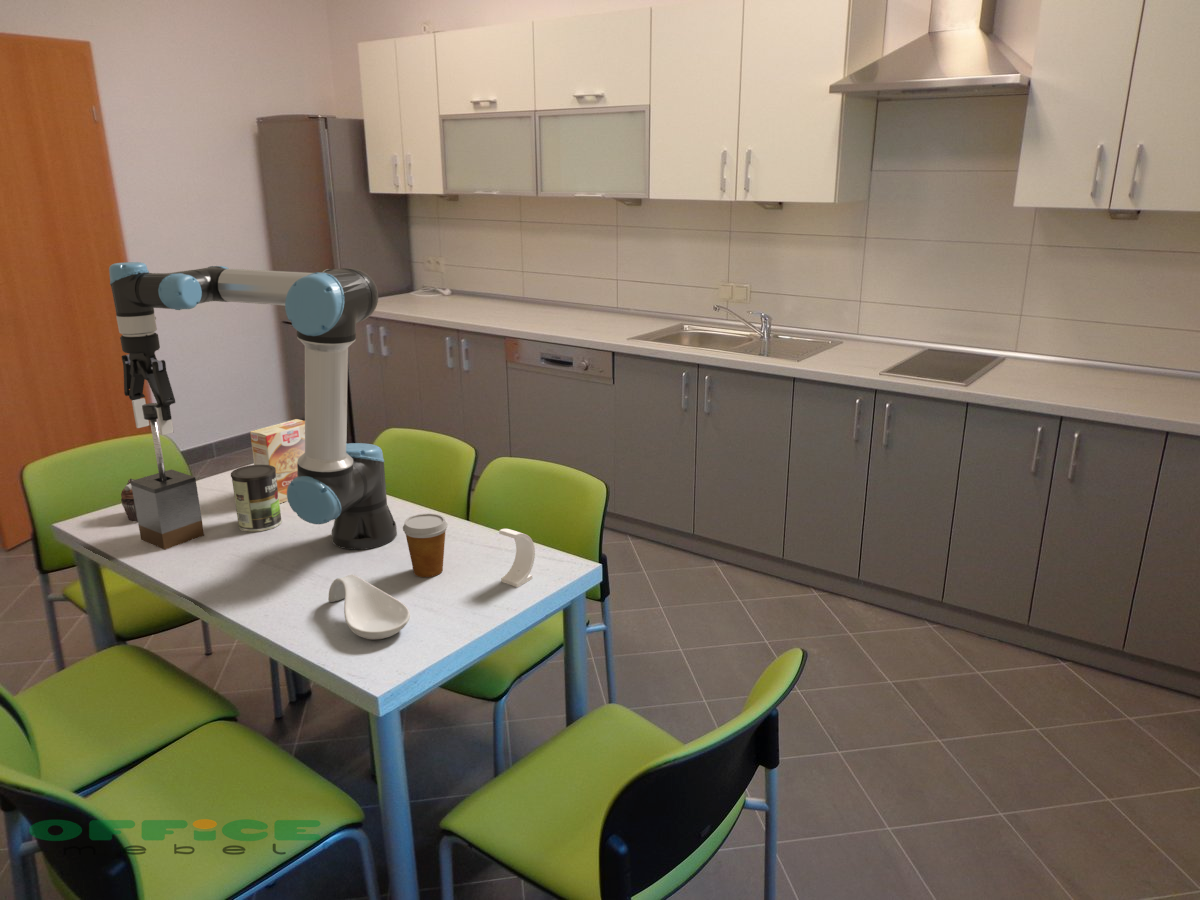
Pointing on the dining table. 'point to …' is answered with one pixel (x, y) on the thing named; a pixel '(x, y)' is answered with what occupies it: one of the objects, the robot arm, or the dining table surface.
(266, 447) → the coffeecake box
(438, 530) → the disposable coffee cup
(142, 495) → the grey brown upright block
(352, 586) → the spoon rest
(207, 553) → the dining table surface
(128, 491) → the cupcake
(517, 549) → the headphone stand
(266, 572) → the dining table surface
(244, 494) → the coffee can
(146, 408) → the plunger
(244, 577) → the dining table surface
